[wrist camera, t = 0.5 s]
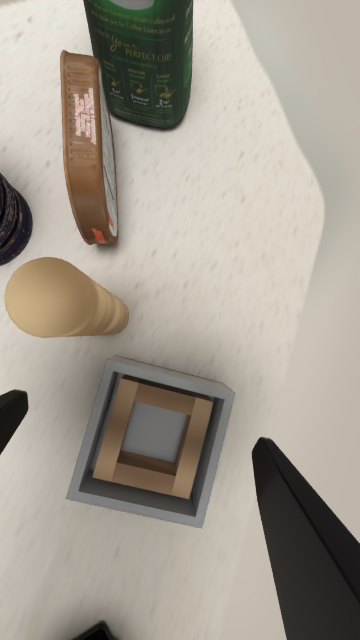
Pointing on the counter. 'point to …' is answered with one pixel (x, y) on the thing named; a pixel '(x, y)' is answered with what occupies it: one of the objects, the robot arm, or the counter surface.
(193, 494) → the tray
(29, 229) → the dark blue cylinder
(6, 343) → the counter surface
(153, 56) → the coffee jar
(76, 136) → the tin
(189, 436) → the socket block
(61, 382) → the counter surface
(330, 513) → the robot arm
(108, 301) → the dowel
